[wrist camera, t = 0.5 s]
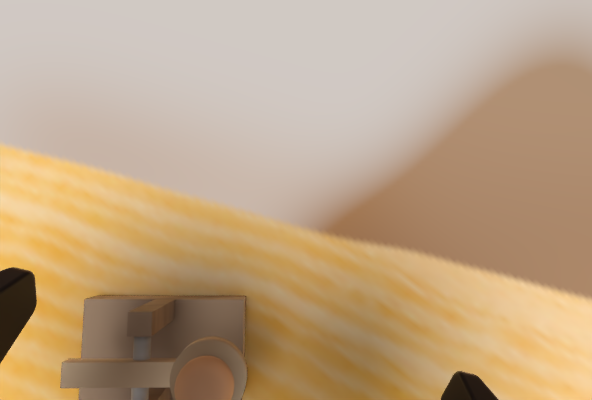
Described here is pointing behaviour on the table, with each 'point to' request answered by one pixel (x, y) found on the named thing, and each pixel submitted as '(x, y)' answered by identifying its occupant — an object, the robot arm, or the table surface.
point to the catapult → (160, 349)
